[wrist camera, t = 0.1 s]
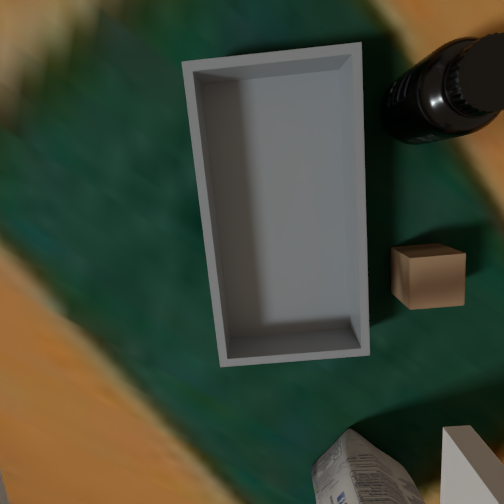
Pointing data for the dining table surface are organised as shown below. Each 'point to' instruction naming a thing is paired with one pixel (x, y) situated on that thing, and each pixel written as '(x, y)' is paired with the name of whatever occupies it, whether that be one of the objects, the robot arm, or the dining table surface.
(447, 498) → the robot arm
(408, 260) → the walnut cube
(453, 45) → the supplement bottle
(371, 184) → the dining table surface
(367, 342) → the tote
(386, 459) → the juice carton
